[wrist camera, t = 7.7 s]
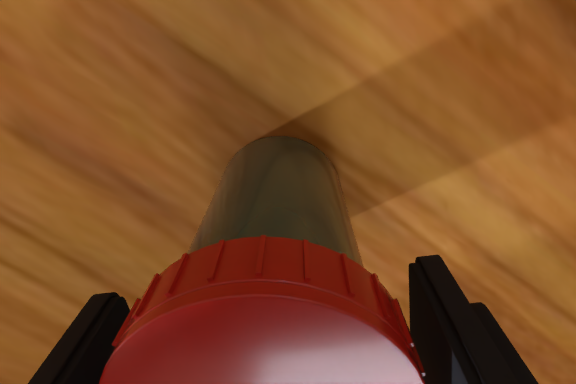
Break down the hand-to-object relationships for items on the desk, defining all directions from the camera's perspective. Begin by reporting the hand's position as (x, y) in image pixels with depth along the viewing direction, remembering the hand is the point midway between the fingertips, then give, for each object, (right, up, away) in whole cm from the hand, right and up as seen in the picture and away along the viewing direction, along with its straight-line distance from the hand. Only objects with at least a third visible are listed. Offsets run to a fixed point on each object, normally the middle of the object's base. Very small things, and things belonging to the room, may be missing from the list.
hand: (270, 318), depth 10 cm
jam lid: (0, -1, -2) cm, 3 cm away
